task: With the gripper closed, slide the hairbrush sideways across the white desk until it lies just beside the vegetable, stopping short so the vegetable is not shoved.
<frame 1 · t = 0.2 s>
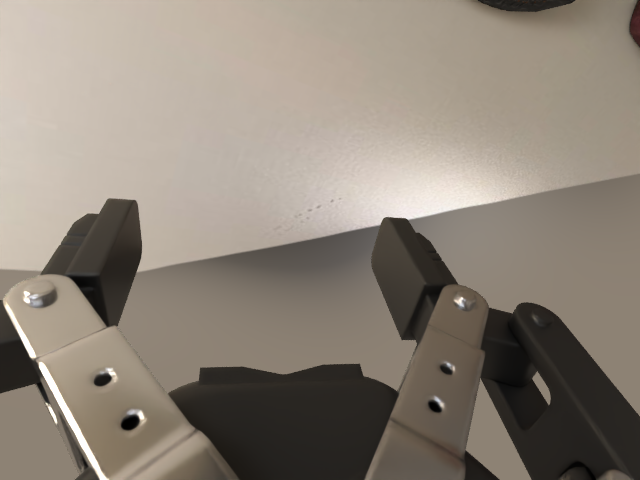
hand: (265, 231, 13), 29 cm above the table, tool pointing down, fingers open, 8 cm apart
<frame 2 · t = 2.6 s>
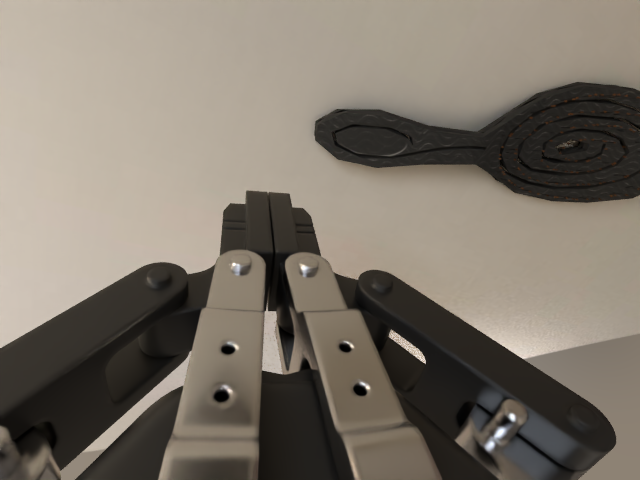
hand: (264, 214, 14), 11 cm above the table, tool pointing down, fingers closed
hairbrush: (493, 137, 27), on the table
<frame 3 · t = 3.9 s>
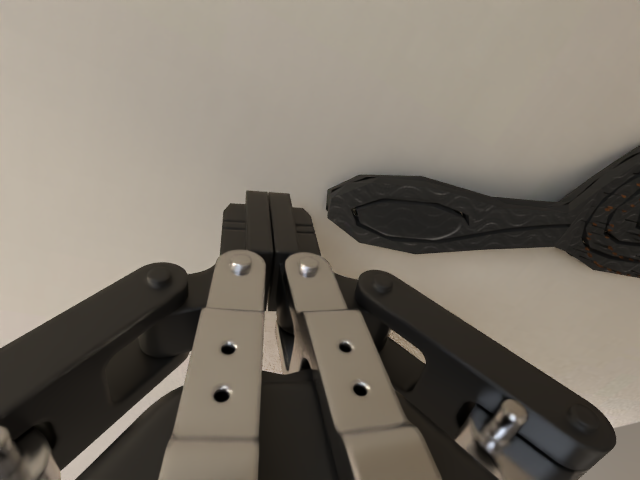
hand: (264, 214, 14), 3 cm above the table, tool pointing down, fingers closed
hairbrush: (569, 201, 19), on the table
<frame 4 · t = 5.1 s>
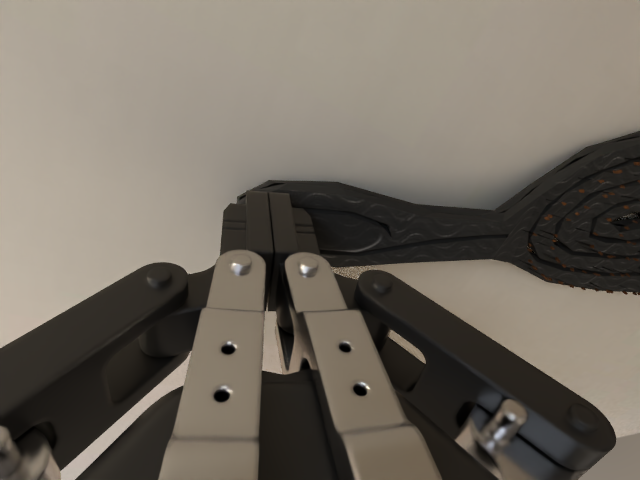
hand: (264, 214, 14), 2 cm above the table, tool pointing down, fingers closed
hairbrush: (516, 208, 18), on the table, touching gripper
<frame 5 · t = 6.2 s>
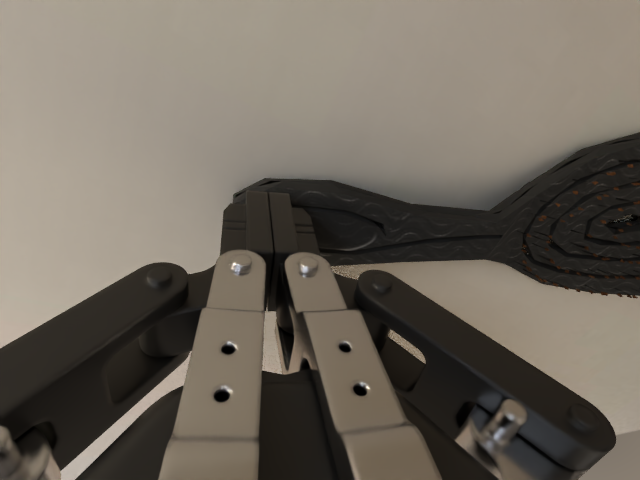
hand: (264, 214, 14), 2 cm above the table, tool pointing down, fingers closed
hairbrush: (511, 209, 18), on the table, touching gripper
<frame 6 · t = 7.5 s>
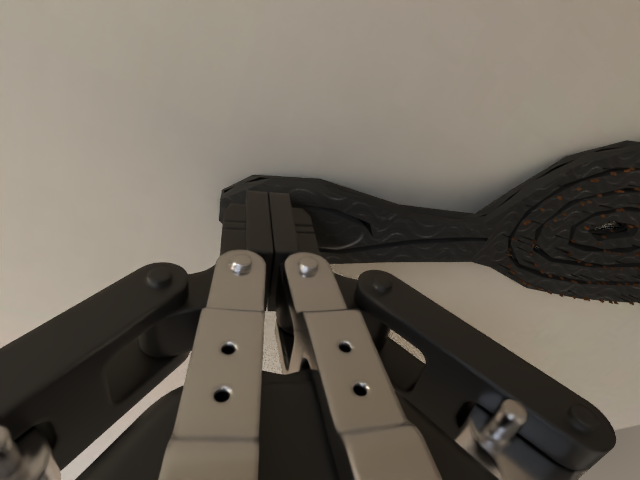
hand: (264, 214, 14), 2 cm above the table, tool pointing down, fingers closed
hairbrush: (497, 213, 18), on the table, touching gripper
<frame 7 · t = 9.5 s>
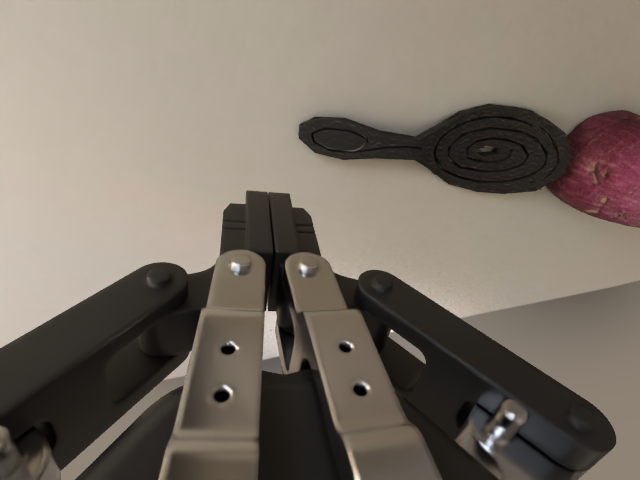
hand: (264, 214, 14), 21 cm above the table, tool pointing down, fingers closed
vegetable: (593, 158, 40), on the table
hairbrush: (430, 142, 36), on the table
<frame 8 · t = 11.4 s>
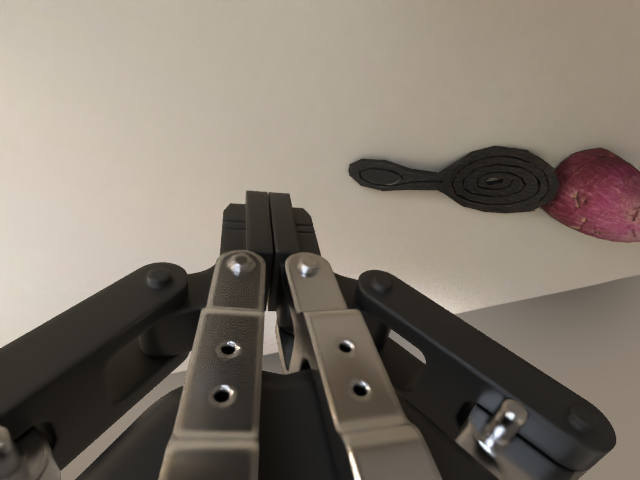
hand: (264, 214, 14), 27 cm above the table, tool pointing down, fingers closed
vegetable: (577, 183, 50), on the table
hairbrush: (448, 174, 46), on the table
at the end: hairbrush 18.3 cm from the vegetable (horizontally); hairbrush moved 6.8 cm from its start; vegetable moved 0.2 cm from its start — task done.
